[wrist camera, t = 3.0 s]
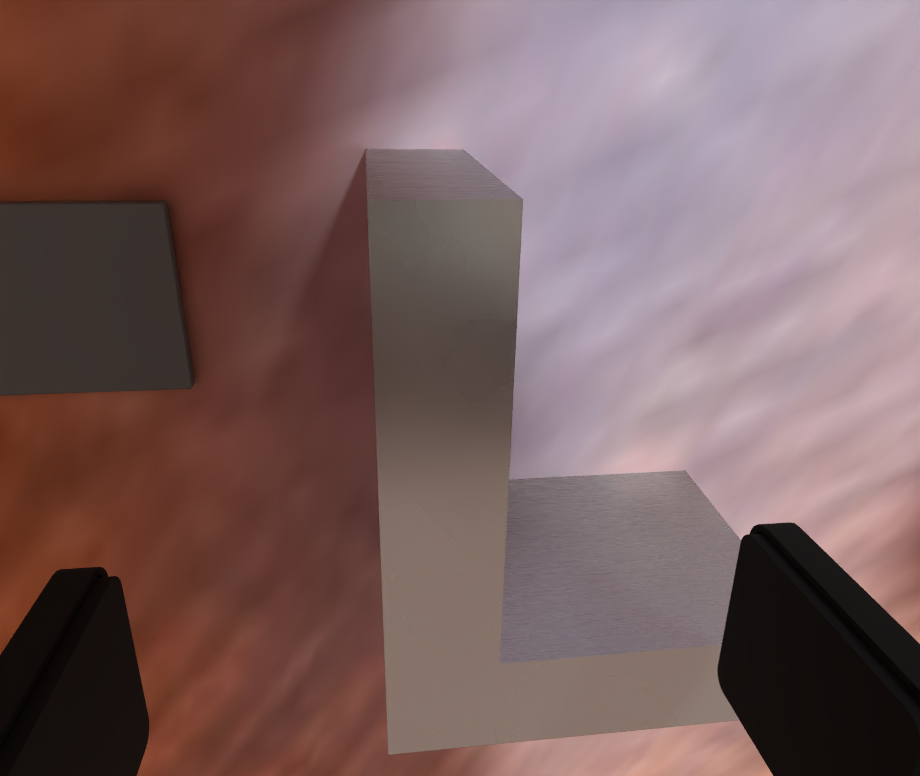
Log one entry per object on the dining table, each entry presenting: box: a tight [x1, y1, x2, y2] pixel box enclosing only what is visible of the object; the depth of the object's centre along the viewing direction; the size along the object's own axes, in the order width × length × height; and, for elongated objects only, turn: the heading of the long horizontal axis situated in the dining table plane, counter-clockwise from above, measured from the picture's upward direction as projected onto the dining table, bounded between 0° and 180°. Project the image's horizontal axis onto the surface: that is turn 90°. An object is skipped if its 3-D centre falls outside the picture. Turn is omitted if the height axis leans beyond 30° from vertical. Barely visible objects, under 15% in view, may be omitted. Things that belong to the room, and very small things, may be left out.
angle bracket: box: [366, 149, 741, 755], centre depth 14 cm, size 10×8×6 cm
